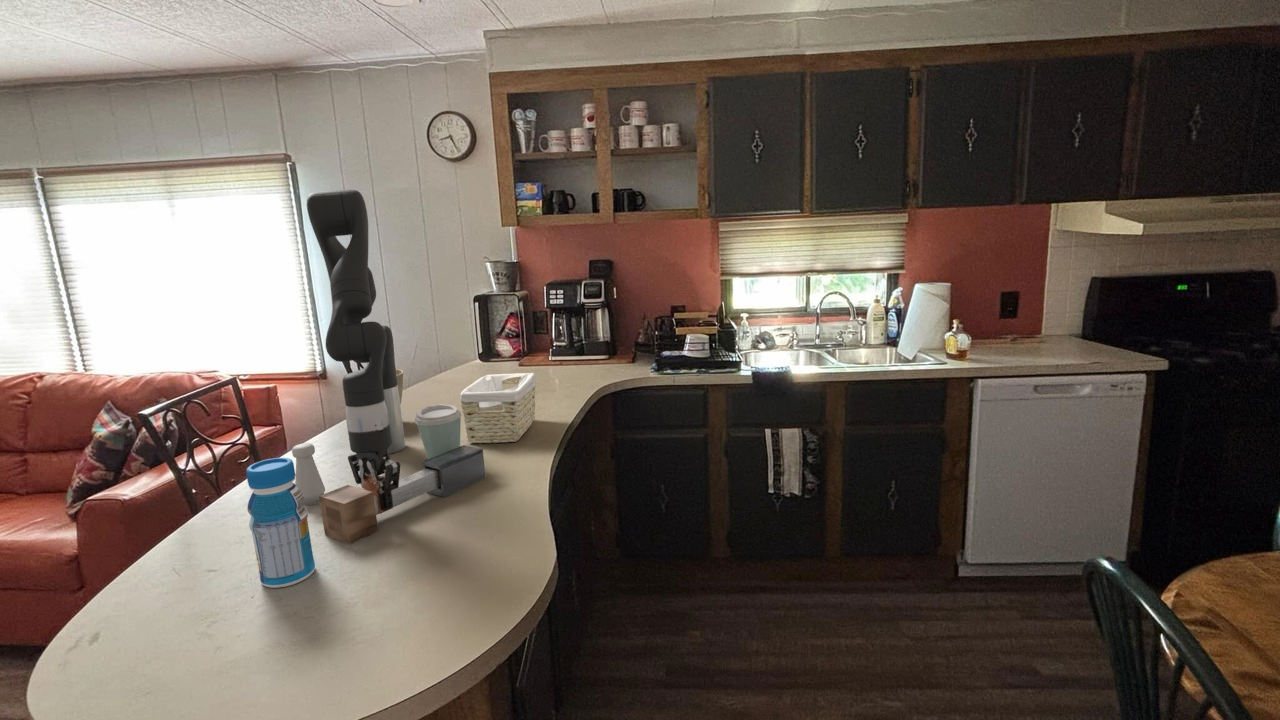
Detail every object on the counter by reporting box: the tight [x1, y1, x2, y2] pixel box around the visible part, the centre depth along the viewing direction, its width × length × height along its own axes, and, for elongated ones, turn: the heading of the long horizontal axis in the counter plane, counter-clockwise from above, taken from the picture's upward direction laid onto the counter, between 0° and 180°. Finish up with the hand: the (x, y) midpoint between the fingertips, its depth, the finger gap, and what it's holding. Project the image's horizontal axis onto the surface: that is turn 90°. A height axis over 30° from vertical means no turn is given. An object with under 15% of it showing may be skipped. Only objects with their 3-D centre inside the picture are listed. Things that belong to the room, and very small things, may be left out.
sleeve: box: [421, 444, 486, 498], centre depth 143 cm, size 12×6×7 cm, turn 147°
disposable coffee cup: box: [414, 403, 462, 460], centre depth 153 cm, size 11×11×15 cm
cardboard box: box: [319, 484, 379, 545], centre depth 122 cm, size 6×8×8 cm
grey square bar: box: [363, 467, 441, 516], centre depth 131 cm, size 21×4×6 cm, turn 147°
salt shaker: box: [291, 442, 326, 507], centre depth 137 cm, size 6×6×13 cm
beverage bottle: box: [245, 457, 316, 589], centre depth 106 cm, size 8×8×20 cm
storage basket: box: [459, 372, 537, 444], centre depth 181 cm, size 24×16×15 cm
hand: (379, 506), depth 128 cm, fingers closed on grey square bar, 4 cm apart
